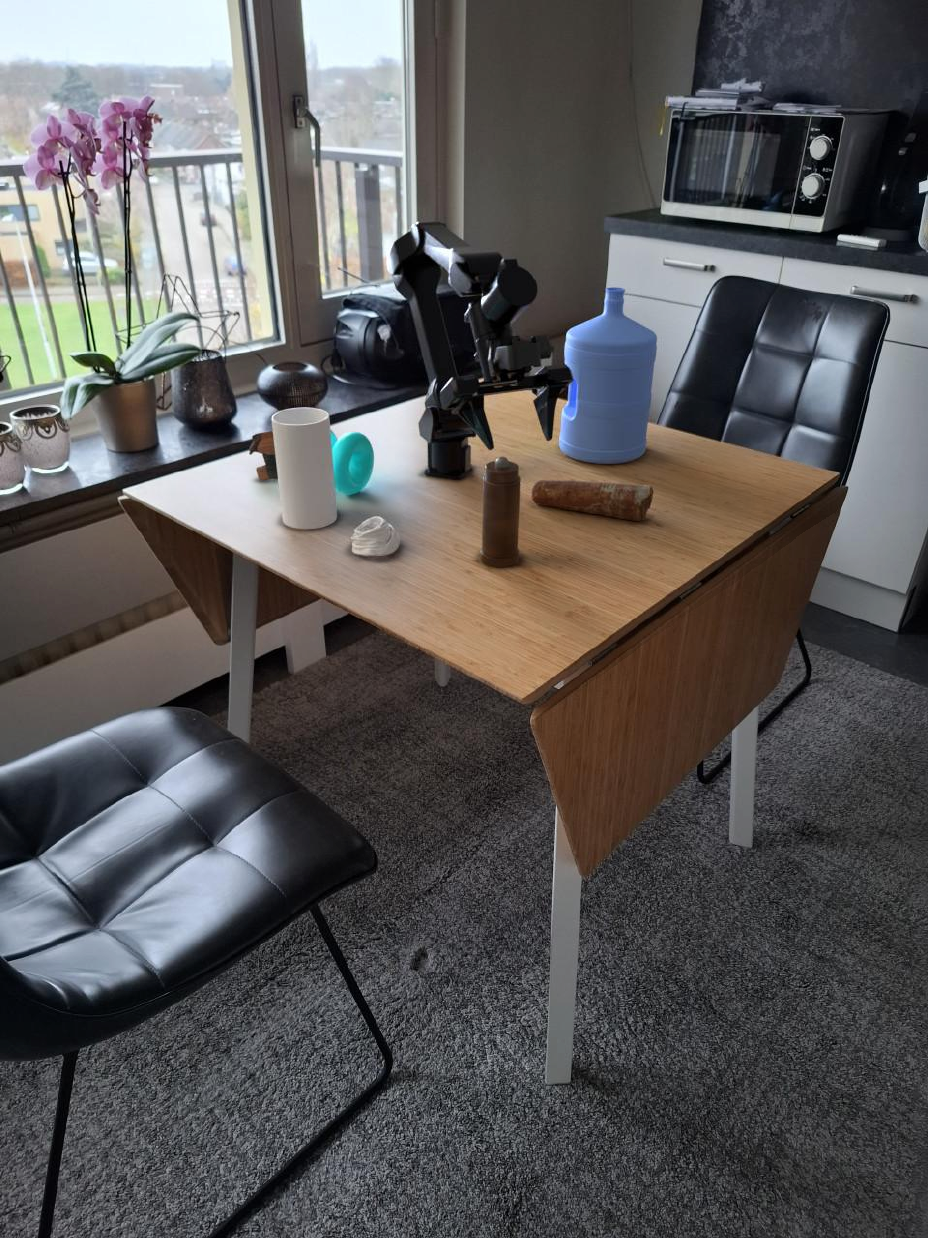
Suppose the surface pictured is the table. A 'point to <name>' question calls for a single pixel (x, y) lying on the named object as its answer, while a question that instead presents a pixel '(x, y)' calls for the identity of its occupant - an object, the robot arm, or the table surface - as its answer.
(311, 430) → the cup
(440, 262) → the robot arm
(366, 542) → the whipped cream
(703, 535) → the table surface
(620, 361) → the water jug
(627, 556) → the table surface
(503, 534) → the pepper mill
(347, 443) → the donuts
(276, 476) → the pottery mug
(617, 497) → the brown cylinder
